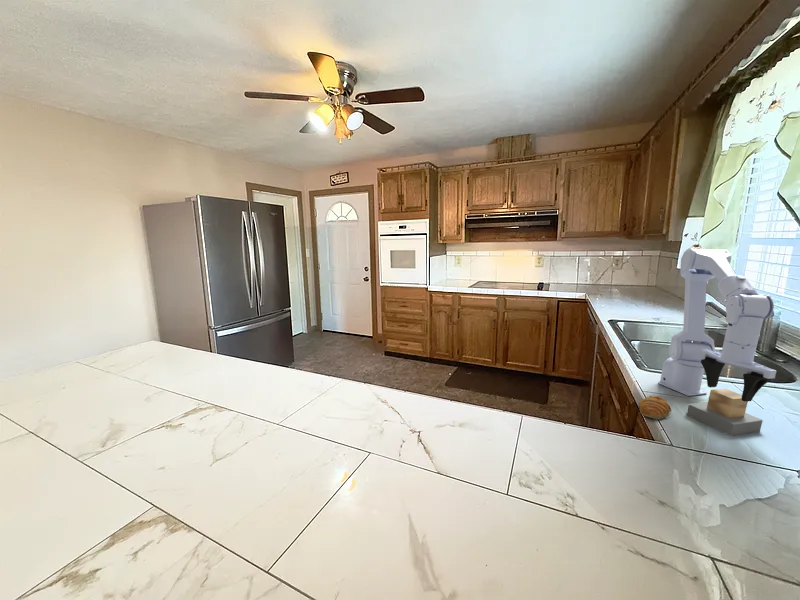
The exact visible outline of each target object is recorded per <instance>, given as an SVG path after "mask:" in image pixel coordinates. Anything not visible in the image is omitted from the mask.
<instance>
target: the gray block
mask: <svg viewBox="0 0 800 600" xmlns="http://www.w3.org/2000/svg"><path fill="white" fill-rule="evenodd" d="M707 405H708V401H702V402H696V403H688V406H687V410H686V411H687V412H686V415H687V416H689V417H691V418H693V419H695V420H698V421H699V422H702V423H703V424H705V425H708V426H710V427H712V428H714V429H716V430H718V431H720V432H722V433H724V434H726V435H729V436H730V437H732V436H738V435H745V434H752V433H757V432H760V431H761V429H762V424H763V422H764V420H763V419H761V418H759V417H756V416H755V415H754V416H753V415H752V414H749V413H747V412H745V415H744V416H740V417H730V418H728V417H726V416H724V415H722V414H720V413H718V412H715V411H713V410H711V409H709V408H707Z"/></svg>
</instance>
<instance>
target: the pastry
mask: <svg viewBox="0 0 800 600" xmlns="http://www.w3.org/2000/svg"><path fill="white" fill-rule="evenodd" d="M638 405H639V413H640V414H641V415H642V416H644V417H647V418H651V419H655V420H660V419H661V420H662V419H666V418H667V417H668V416H669V415H670V413H671V411H672V407H671V405H670V404H669V402H668V401H667V400H666V399H665V398H663V397H661V396H657V395H653V396H652V395H649V396H646V397H645V398H643V399H641V400H640V402H639V403H638Z"/></svg>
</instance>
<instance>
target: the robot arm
mask: <svg viewBox="0 0 800 600" xmlns="http://www.w3.org/2000/svg"><path fill="white" fill-rule="evenodd" d="M731 261H732V254H731V253H730V251H729V250H728V249H707V248H706V249H704V248H686V250H685V251H684V252H683V254H682V256H681V257H680V268H679V269H680V270H679V273H680V277H682V278H683V279H684V280H685V281H684V282H685V283H684V284H685V285H684V287H685V288H684V307H683V324H682V325H683V327H682V329H683V330H682V331H680V332H678V333H676V334H674V335H673V336H671V339H670V344H669V347H668V354H669V357H668V358H667V359H666V360H665V361H664V362H663V364H662V369H661V375H660V379H659V380H660V381H657V382H658V384H660V385H663V386H665V387H666V388H669V389H672V390H673V391H675V392H678V393H680V394H683V395H685V396H687V397H691V396H699V395H707V394H708V392H707V391H705V390H703V389H701V387H702V381H703V377H704V373H705V377H706V384H707V387H708V388H717V386H718V383H719V380H720V375H721V373H722V371H723V369H724V367H725V365H729V366H732V367H735V368H737V369H740V370H743V371H747V373H743V376H742V377H743V391H742V394H741V395H742V401H745V402H747V401H748V402H752V400H753V398H754V397H755V395H756V394H757V393H758V392H759V390H760V389H761V388H762V387H764V385H767V384H768V383H769V382H770V381H772V379H776V375H777V370H776V369H773V368H770V367H767V366H766V365H763V364H760V363H758V362H755V361H754V359H755V355H756V351H757V347H758V343H759V339H760V335H761V334H760V333H761V330H762V327H763V323H764V320H767V319H768V318H770V317H771V316H772V314H773V312H774V308H775V305H774V300H773V299H772V297H771V295H768V294H763V293H760V292H759V293H758V291H757V290H756V289H755V288H754V287H753V285H752V284H751V283H750V282H749V281H748V279H747V278H746V277H745V275H738V274H737V273H736V272H735V271H734V269H733V267H732V265H731ZM712 279H716V280H717V281H718V283H717V289H718V291H719V292H720V294H721V295H722V296H723V298H724V300H725V301H726V303H725V312H726V317H725V321H726V322H727V326H726V331H725V334H724V339H723V342H722V343H723V345H722V348H721V351H720V352H718V351H716V347H715V340H714V339H713V338H712V337H711V336H709V335H708V334H706V333H705V327H706V306H707V305H706V304H707V302H706V301H707V284H708V283H707V282H708V281H709V280H712ZM748 372H749V373H748Z"/></svg>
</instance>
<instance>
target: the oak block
mask: <svg viewBox="0 0 800 600" xmlns="http://www.w3.org/2000/svg"><path fill="white" fill-rule="evenodd" d="M707 402H708V405H707V408H709V409H711V410H713V411H715V412H718V413H720V414H722V415H724V416H726V417H728V418H730V417H740V416H744V415H745V413H746V410H747V408H748V407H747V406H748V402H749V401H747V402H745V401H742V394H740V393H737V392H735V391H732V390H730V389H727V388H719V389H718V388H717V389H710V392H709V397H708V400H707Z"/></svg>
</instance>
